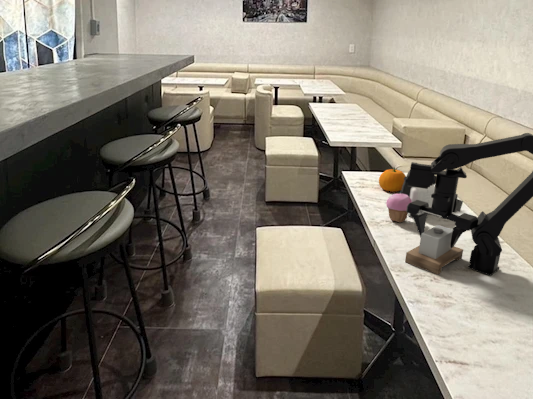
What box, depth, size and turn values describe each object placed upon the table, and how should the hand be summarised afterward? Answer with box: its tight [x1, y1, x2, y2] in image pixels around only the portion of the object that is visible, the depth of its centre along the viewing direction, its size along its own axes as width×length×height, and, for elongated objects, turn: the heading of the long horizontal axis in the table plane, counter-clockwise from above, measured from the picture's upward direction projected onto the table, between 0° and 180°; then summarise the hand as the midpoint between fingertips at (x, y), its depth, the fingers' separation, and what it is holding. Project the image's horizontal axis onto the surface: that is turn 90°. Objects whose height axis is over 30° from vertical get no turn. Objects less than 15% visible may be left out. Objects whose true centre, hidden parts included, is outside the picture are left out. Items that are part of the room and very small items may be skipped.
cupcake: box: [385, 193, 412, 223], centre depth 164 cm, size 9×9×10 cm
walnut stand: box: [405, 244, 464, 275], centre depth 136 cm, size 10×15×3 cm, turn 135°
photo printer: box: [407, 184, 435, 218], centre depth 171 cm, size 10×4×12 cm, turn 123°
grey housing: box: [418, 224, 453, 259], centre depth 135 cm, size 10×5×7 cm, turn 135°
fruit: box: [378, 166, 407, 193], centre depth 199 cm, size 12×12×10 cm
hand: (436, 242), depth 135 cm, fingers open, 9 cm apart
